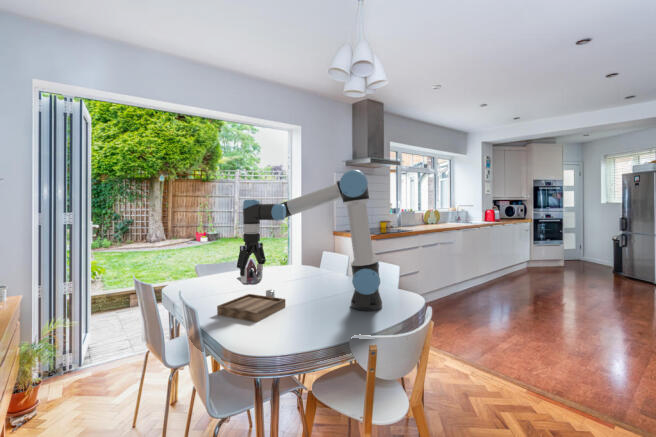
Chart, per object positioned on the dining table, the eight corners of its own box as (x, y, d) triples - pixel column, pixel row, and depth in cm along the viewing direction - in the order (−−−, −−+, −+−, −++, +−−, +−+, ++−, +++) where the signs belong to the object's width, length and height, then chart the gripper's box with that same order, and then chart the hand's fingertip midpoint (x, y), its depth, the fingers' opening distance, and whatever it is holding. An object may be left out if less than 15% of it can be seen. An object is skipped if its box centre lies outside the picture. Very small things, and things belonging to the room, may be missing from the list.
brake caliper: (259, 281, 143) (244, 259, 145) (241, 295, 146) (226, 273, 147) (269, 275, 154) (255, 255, 156) (252, 288, 157) (238, 268, 158)
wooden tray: (285, 307, 156) (285, 299, 156) (256, 322, 136) (256, 312, 136) (249, 301, 165) (248, 293, 165) (217, 314, 145) (217, 305, 145)
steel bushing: (276, 299, 168) (275, 290, 168) (272, 302, 164) (271, 292, 164) (268, 298, 170) (268, 289, 169) (264, 301, 165) (264, 291, 165)
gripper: (260, 230, 161) (260, 274, 162) (227, 234, 140) (228, 284, 141) (273, 231, 158) (273, 275, 159) (241, 235, 137) (241, 286, 138)
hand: (252, 280), depth 150 cm, fingers closed on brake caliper, 11 cm apart
